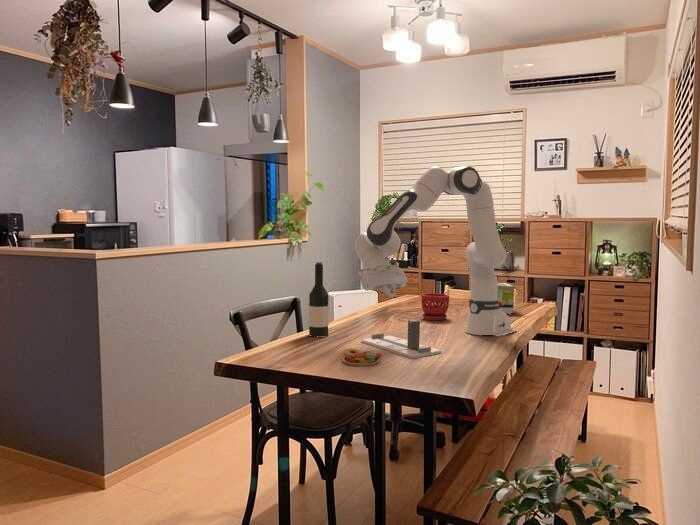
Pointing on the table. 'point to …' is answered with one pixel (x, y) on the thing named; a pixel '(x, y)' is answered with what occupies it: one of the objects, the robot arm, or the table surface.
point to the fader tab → (413, 334)
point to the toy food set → (360, 357)
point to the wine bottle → (318, 305)
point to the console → (399, 346)
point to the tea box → (506, 297)
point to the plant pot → (435, 306)
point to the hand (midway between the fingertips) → (392, 295)
